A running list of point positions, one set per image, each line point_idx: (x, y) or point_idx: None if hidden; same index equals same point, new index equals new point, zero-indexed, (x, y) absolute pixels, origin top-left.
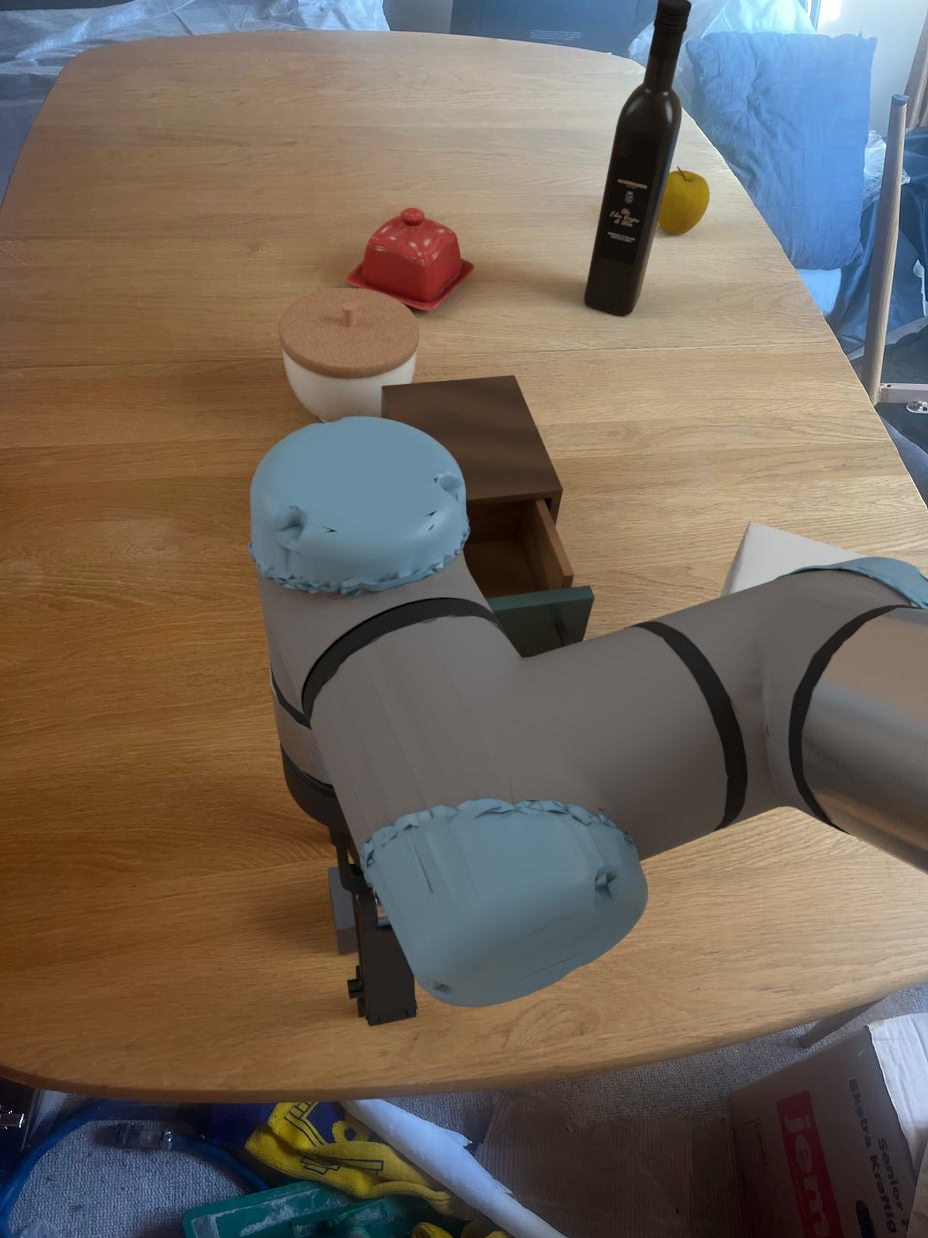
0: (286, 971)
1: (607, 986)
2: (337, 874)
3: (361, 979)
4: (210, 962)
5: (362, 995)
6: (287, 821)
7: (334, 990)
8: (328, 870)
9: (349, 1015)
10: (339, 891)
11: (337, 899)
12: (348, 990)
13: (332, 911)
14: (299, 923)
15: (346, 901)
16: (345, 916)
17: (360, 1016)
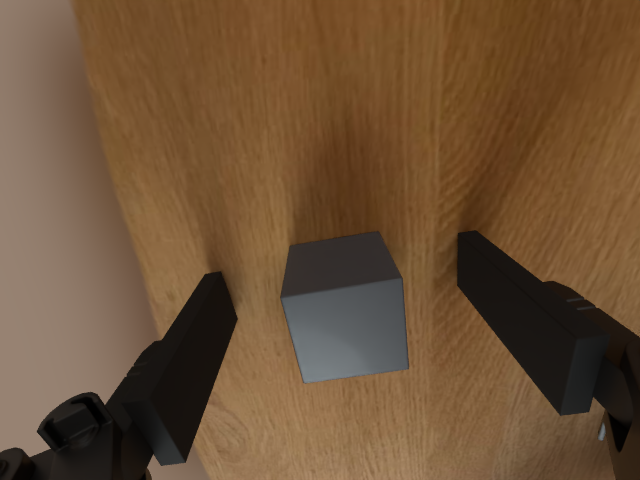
0: (264, 174)
1: (263, 469)
2: (387, 294)
3: (88, 442)
4: (275, 39)
5: (59, 438)
6: (516, 160)
7: (241, 240)
8: (397, 280)
9: (211, 259)
10: (353, 298)
11: (338, 295)
12: (64, 414)
13: (348, 242)
14: (338, 189)
15: (333, 310)
16: (305, 309)
17: (204, 277)
